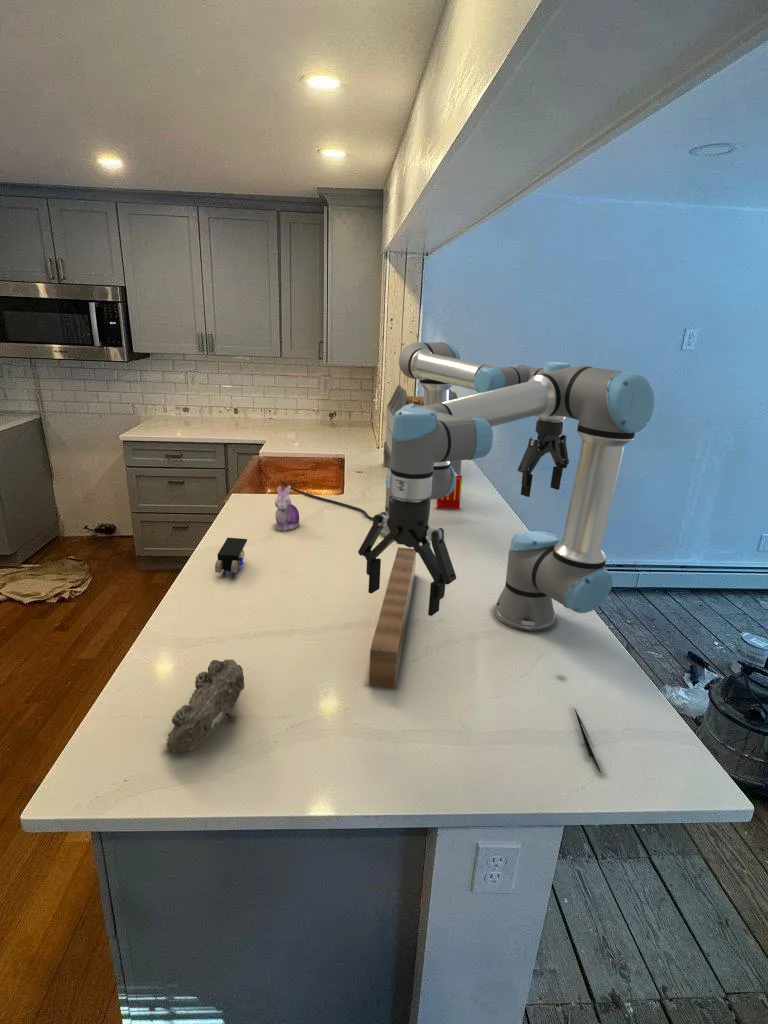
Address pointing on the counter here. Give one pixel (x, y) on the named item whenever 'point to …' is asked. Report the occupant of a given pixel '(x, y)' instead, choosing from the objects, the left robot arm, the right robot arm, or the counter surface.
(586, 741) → the feather
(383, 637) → the bar
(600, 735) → the counter surface
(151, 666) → the counter surface
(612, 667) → the counter surface
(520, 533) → the right robot arm
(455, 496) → the toy
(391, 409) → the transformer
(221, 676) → the fossil
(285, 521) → the figurine
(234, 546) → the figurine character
